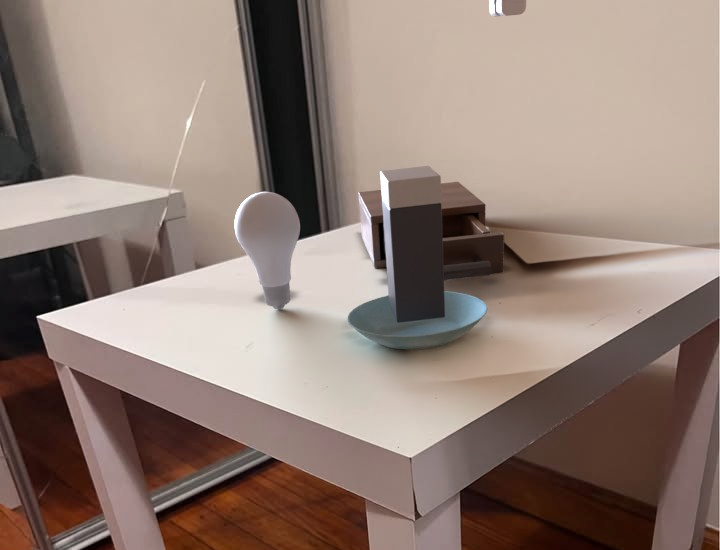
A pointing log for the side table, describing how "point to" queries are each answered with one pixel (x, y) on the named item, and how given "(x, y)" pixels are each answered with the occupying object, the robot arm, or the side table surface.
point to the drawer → (467, 248)
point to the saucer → (417, 322)
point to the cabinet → (371, 216)
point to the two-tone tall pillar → (413, 242)
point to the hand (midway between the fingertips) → (507, 15)
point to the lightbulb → (269, 242)
